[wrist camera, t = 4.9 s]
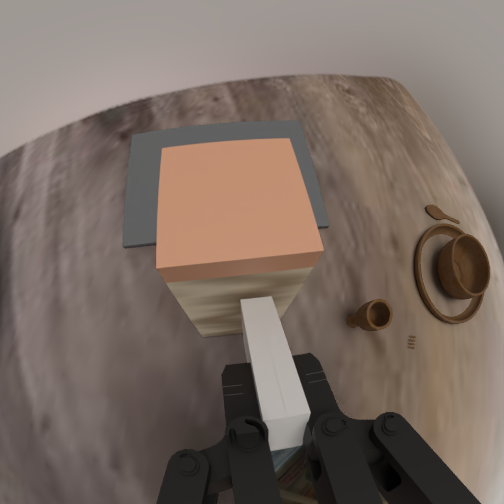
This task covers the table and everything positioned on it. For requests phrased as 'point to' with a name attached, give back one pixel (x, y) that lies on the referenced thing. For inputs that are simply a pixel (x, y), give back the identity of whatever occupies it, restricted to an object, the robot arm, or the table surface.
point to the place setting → (450, 273)
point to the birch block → (233, 229)
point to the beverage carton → (295, 476)
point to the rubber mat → (151, 143)
